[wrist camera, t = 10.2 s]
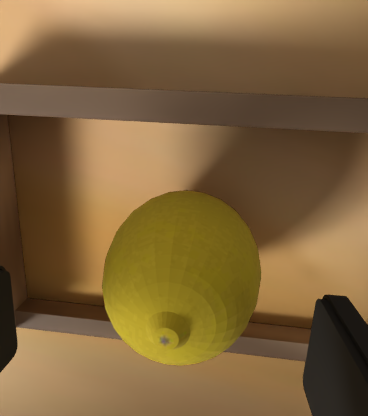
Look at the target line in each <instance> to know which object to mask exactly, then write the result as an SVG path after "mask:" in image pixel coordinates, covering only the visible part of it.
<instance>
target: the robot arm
mask: <svg viewBox="0 0 368 416" xmlns="http://www.w3.org/2000/svg"><path fill="white" fill-rule="evenodd" d="M16 350H17V335H16V325H15V315H14V306H13V296H12V286H11V276H10V273H9V272H8V271H6V269H5V268H4V267H3V266H0V372H1V371H2V370H3V369H4V368H5V366H6V365H7V364H8V363H9V362H10V361H11V359H12V358H13V357H14V355H15V353H16ZM303 386H304V391H305V394H306V397H307V400H308V403H309V406H310V409H311V413H312V416H368V325H367V324H366V322H365V321H364V320H363V318H362V317H361V315H360V314H359V313H358V311H357V310H356V309H355V307H354V306H353V304H352V303H351V302H350V300H349V299H348V298H347V297H346V296H336V295H324V296H323V299H317V301H316V304H315V310H314V316H313V322H312V327H311V333H310V339H309V345H308V351H307V356H306V362H305V368H304V374H303Z"/></svg>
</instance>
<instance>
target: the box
mask: <svg viewBox="0 0 368 416" xmlns="http://www.w3.org/2000/svg"><path fill="white" fill-rule="evenodd" d="M8 115H24V116H44V117H63V118H83V119H102V120H122V121H141V122H160V123H180V124H199V125H219V126H238V127H258V128H277V129H296V130H316V131H335V132H355V133H368V99H365V98H341V97H317V96H293V95H269V94H245V93H221V92H197V91H173V90H149V89H125V88H101V87H77V86H53V85H29V84H5V83H0V266H3V267H4V268H5V269H6V271H8V272H9V273H10V276H11V286H12V296H13V306H14V315H15V325H16V327H19V328H28V329H36V330H45V331H53V332H62V333H70V334H78V335H87V336H95V337H104V338H112V339H121V340H123V339H122V338H121V337H120V336H119V334H118V333H117V332H116V330H115V329H114V327H113V325H112V323H111V321H110V318H109V316H108V314H107V311H106V309H105V307H104V306H95V305H86V304H76V303H67V302H58V301H49V300H40V299H31V298H27V289H26V280H25V271H24V262H23V252H22V243H21V234H20V225H19V216H18V207H17V198H16V188H15V179H14V170H13V161H12V152H11V143H10V134H9V124H8ZM310 333H311V329H306V328H296V327H287V326H278V325H269V324H260V323H251V322H248V324H247V327H246V328H245V330H244V331H243V333H242V334H241V335H240V336H239V337H238V339H237V340H236V341H235V342H234V343H233V344H232V346H230V347H229V348H228V349H226V350H225V351H223V352H230V353H239V354H247V355H255V356H264V357H272V358H281V359H289V360H298V361H306V356H307V351H308V345H309V339H310Z"/></svg>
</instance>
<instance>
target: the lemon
mask: <svg viewBox="0 0 368 416" xmlns="http://www.w3.org/2000/svg"><path fill="white" fill-rule="evenodd" d="M260 280H261V267H260V260H259V253H258V248H257V245H256V243H255V240H254V238H253V236H252V234H251V231H250V229H249V227H248V226H247V224H246V223H245V222H244V221H243V219H242V218H241V217H240V216H239V214H238V213H237V212H236V211H235V210H234V209H233V208H231V207H230V206H229V205H227V204H226V203H225V202H223V201H222V200H220V199H218V198H215V197H213V196H211V195H208V194H206V193H201V192H195V191H188V190H185V191H175V192H168V193H166V194H163V195H160V196H157V197H155V198H152V199H150V200H149V201H147V202H146V203H144V204H143V205H142V206H140V207H139V208H137V209H136V210H134V211H133V212H132V213H131V214H130V216H129V217H128V218H127V219H126V220H125V222H124V223H123V224H122V225H121V226H120V228H119V229H118V231H117V232H116V235H115V237H114V239H113V241H112V244H111V246H110V248H109V251H108V253H107V256H106V260H105V266H104V274H103V283H102V289H103V297H104V304H105V309H106V311H107V314H108V316H109V318H110V321H111V323H112V325H113V327H114V329H115V330H116V332H117V333H118V334H119V336H120V337H121V338H122V339H123V341H124V342H125V343H127V344H128V345H129V346H130V347H131V348H132V349H134V350H135V351H136V352H137V353H139V354H141V355H143V356H144V357H146V358H148V359H150V360H153V361H156V362H160V363H163V364H168V365H179V366H182V365H190V364H197V363H200V362H203V361H206V360H209V359H211V358H214V357H216V356H217V355H219V354H220V353H222V352H223V351H225V350H226V349H228V348H229V347H230V346H232V344H233V343H234V342H235V341H236V340H237V339H238V337H239V336H240V335H241V334H242V333H243V331H244V330H245V328H246V327H247V324H248V322H249V320H250V318H251V316H252V314H253V311H254V309H255V307H256V303H257V299H258V293H259V287H260Z"/></svg>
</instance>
